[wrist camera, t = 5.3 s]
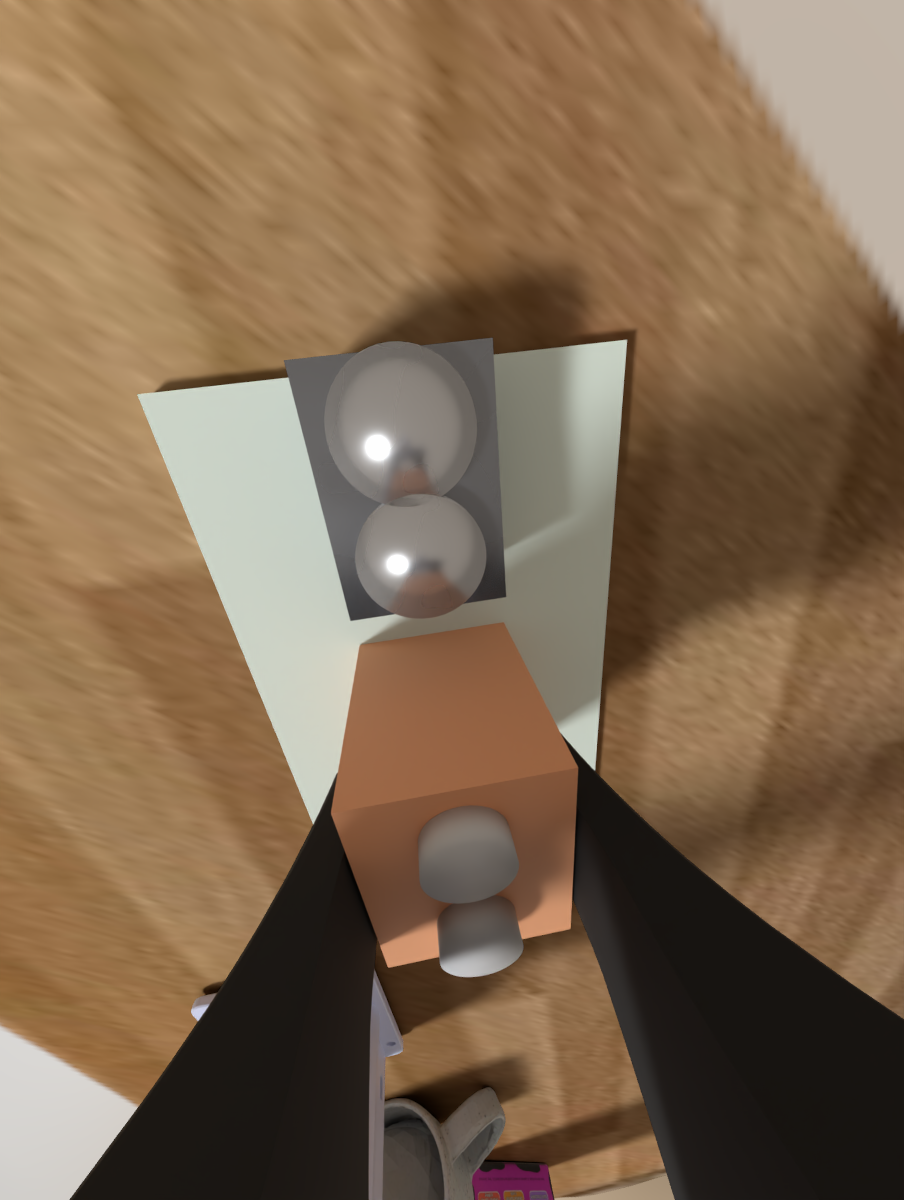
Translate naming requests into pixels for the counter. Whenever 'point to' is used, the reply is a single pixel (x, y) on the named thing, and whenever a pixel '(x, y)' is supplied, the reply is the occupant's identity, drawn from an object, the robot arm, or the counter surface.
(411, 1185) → the ceramic mug
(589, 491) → the mat
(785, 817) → the counter surface
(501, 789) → the orange block with knobs
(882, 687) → the counter surface
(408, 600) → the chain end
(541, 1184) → the candy bar box
